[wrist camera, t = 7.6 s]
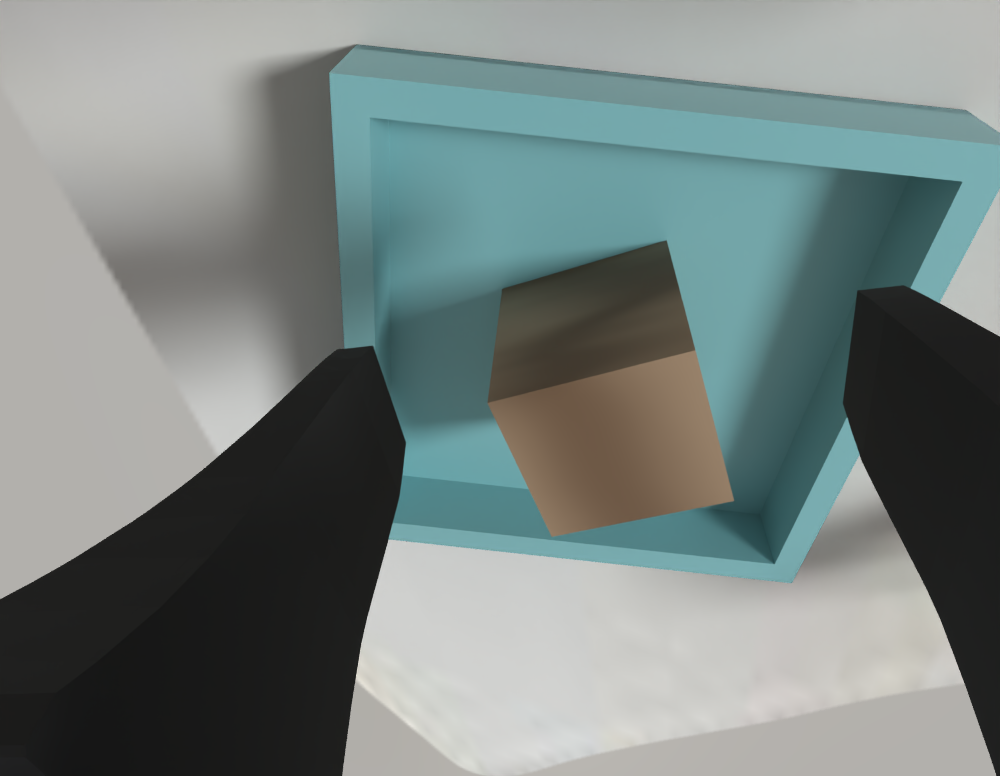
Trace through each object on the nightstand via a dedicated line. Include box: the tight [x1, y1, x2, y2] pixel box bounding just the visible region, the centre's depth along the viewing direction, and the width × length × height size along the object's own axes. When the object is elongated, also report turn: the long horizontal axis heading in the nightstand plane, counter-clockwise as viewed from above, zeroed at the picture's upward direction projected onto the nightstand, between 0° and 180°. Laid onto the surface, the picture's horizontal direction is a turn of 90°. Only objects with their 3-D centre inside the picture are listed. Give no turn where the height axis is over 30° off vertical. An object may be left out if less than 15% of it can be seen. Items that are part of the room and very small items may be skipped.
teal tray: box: [329, 45, 1000, 583], centre depth 20 cm, size 14×14×2 cm
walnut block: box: [487, 240, 734, 537], centre depth 18 cm, size 4×4×5 cm
